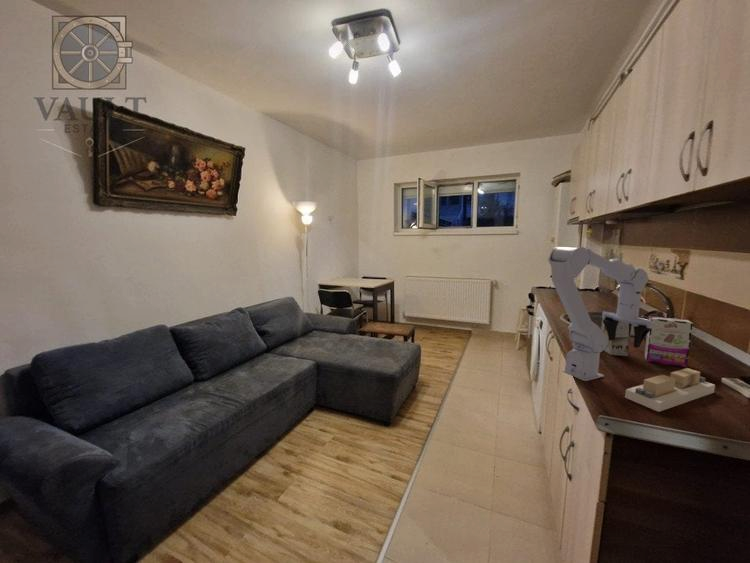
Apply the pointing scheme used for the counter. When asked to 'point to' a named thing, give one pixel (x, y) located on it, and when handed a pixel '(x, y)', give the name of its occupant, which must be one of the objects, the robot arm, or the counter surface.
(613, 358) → the counter surface
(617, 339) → the coffee box
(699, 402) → the counter surface
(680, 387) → the beige rectangular block
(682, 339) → the candy bar box
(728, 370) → the counter surface
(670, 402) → the white block holder
